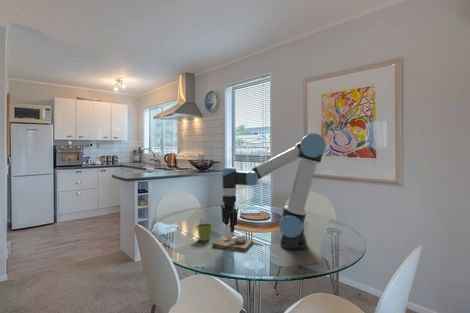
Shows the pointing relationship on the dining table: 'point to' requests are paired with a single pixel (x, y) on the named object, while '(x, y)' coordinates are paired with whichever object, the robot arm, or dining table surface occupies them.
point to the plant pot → (204, 231)
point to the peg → (237, 238)
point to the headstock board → (232, 244)
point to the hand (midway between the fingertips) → (229, 236)
